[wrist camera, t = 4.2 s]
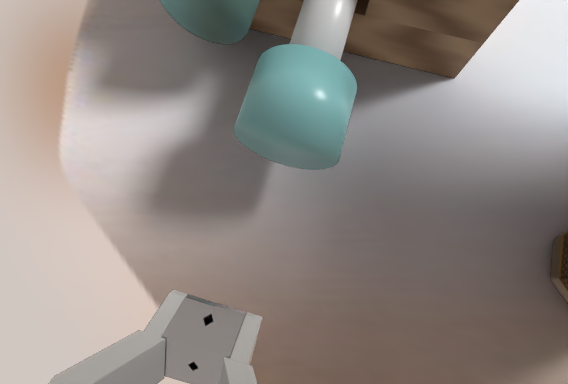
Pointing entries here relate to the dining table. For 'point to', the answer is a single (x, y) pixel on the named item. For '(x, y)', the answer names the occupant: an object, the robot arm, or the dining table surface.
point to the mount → (362, 27)
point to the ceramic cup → (560, 264)
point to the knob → (302, 91)
